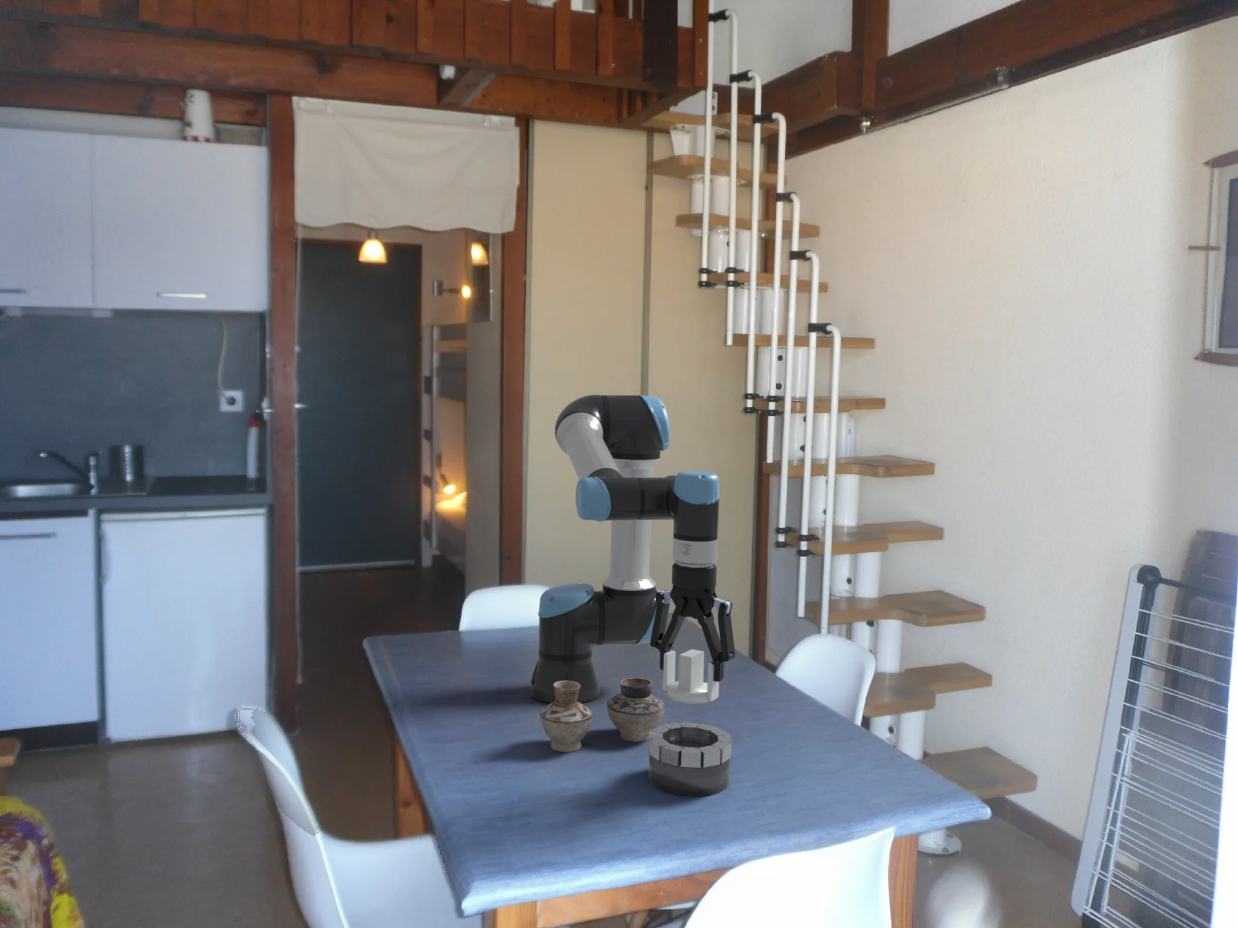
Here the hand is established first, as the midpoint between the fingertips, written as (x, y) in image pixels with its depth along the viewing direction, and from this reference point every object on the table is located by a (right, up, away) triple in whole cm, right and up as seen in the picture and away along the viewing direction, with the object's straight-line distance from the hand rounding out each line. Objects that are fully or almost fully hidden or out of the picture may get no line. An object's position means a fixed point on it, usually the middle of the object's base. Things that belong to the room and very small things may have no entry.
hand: (690, 693), depth 172 cm
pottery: (-15, -13, +18) cm, 28 cm away
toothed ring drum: (0, -15, +2) cm, 15 cm away
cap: (0, 0, 0) cm, 0 cm away
